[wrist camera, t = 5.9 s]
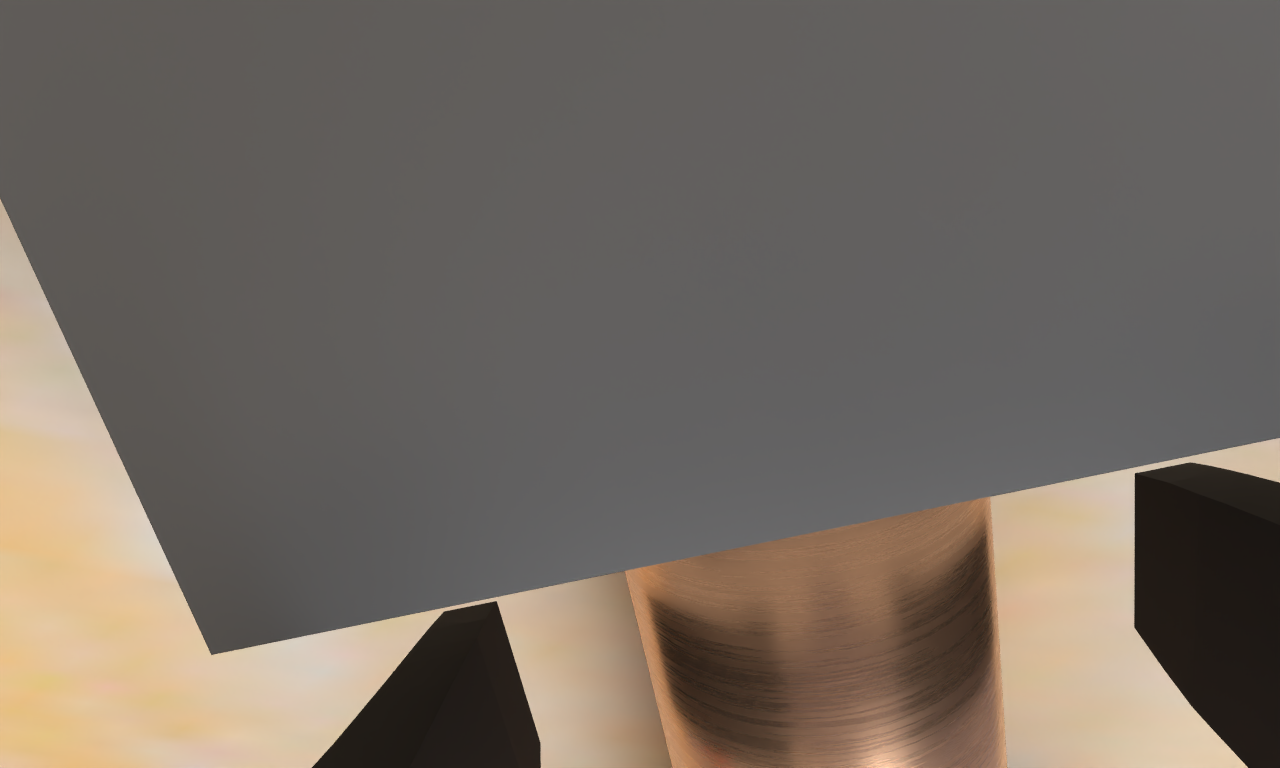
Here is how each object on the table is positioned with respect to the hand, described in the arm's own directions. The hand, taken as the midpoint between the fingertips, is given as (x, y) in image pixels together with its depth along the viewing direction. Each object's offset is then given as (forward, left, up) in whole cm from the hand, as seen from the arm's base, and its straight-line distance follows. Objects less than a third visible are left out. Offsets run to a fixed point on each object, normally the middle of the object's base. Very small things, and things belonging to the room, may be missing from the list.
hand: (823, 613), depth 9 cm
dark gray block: (0, -6, -3) cm, 6 cm away
